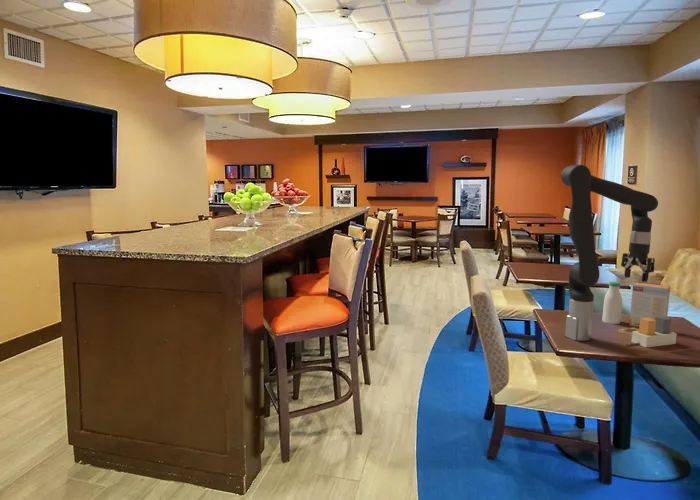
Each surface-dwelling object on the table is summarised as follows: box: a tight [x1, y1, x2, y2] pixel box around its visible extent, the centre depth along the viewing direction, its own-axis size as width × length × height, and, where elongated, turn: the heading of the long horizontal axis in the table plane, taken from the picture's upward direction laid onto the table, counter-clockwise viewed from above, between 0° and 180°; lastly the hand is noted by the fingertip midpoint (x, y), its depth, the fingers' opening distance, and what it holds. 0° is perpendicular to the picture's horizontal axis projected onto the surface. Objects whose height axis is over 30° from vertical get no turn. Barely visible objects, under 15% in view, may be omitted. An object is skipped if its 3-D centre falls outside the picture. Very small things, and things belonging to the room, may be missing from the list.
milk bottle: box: [601, 281, 623, 325], centre depth 227 cm, size 8×8×20 cm
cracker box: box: [628, 282, 671, 329], centre depth 218 cm, size 14×6×21 cm, turn 47°
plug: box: [638, 318, 656, 336], centre depth 197 cm, size 4×4×10 cm
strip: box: [625, 316, 677, 348], centre depth 197 cm, size 22×7×11 cm, turn 106°
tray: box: [618, 327, 639, 338], centre depth 210 cm, size 9×9×2 cm
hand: (635, 279), depth 201 cm, fingers open, 8 cm apart
